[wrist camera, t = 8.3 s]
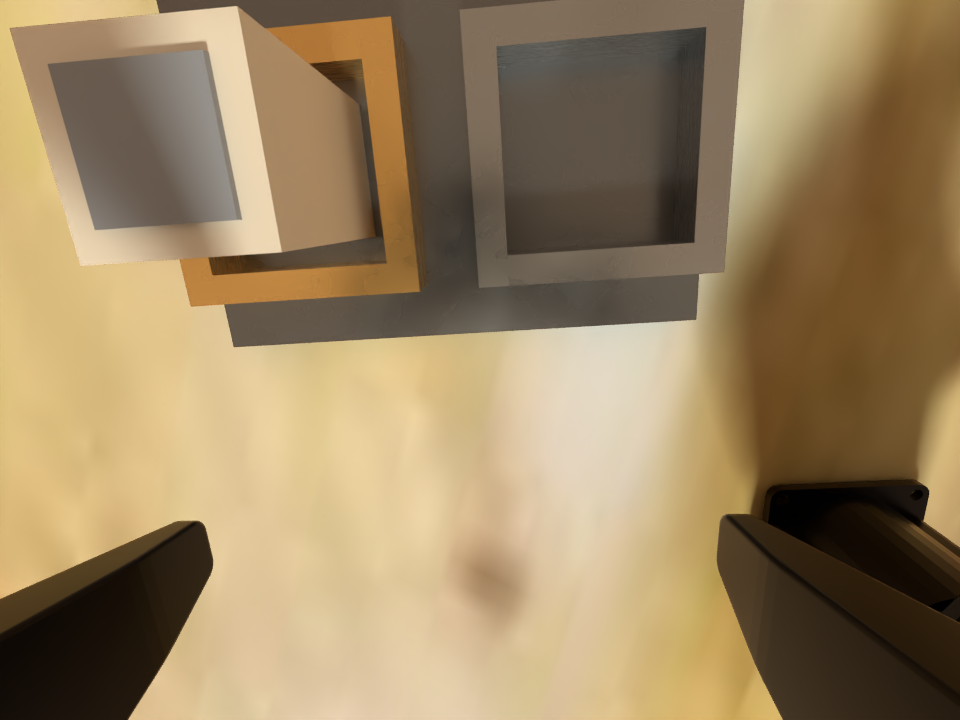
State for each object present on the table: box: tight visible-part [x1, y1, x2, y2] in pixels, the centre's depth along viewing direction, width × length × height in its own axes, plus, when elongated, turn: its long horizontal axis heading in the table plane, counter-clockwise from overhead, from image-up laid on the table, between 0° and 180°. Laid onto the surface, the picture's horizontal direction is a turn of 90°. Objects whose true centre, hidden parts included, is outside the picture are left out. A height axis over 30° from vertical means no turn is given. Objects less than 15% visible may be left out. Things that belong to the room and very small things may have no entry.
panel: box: [157, 0, 744, 347], centre depth 16 cm, size 18×12×3 cm, turn 94°
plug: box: [10, 6, 376, 266], centre depth 13 cm, size 4×4×8 cm
